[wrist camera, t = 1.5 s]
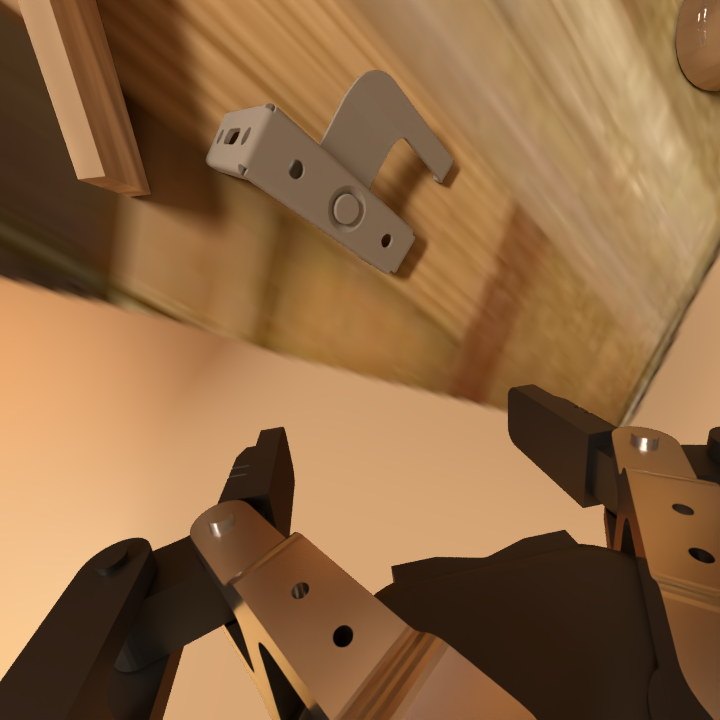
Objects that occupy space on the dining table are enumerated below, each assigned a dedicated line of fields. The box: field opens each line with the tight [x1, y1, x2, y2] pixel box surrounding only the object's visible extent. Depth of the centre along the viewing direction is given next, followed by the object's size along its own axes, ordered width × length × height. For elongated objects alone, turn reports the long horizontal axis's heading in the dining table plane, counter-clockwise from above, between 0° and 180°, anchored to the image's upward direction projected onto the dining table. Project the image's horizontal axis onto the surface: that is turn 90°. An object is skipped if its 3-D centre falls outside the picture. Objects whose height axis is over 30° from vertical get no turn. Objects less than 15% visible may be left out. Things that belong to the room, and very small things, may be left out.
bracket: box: [206, 70, 454, 274], centre depth 27 cm, size 10×14×10 cm
